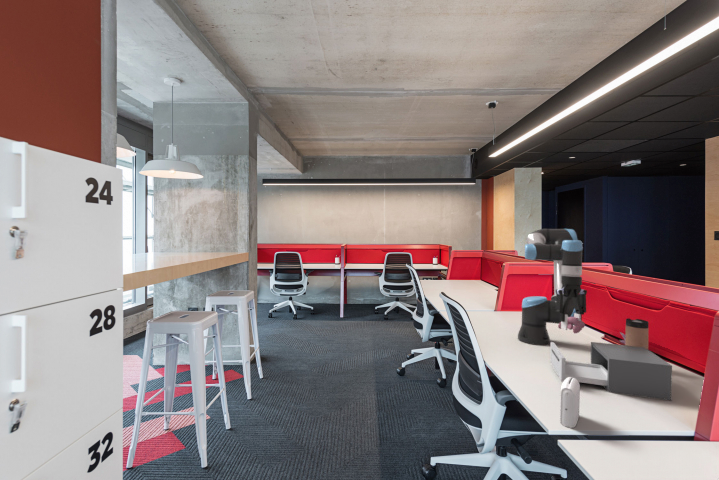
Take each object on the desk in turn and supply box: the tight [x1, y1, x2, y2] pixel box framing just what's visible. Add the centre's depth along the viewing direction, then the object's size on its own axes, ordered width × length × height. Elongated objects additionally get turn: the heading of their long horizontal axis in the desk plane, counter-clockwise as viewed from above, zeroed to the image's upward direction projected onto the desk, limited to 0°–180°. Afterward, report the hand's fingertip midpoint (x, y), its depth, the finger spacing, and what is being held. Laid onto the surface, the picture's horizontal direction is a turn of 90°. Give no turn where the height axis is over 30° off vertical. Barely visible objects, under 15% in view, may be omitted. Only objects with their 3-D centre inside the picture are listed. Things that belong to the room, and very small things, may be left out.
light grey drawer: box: [549, 341, 608, 387], centre depth 131 cm, size 18×20×9 cm
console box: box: [590, 341, 673, 401], centre depth 126 cm, size 18×20×12 cm
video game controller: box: [557, 317, 586, 334], centre depth 145 cm, size 10×5×7 cm, turn 9°
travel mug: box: [624, 317, 650, 350], centre depth 143 cm, size 8×8×20 cm
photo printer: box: [559, 377, 581, 429], centre depth 101 cm, size 10×4×12 cm, turn 140°
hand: (570, 328), depth 145 cm, fingers closed on video game controller, 6 cm apart
